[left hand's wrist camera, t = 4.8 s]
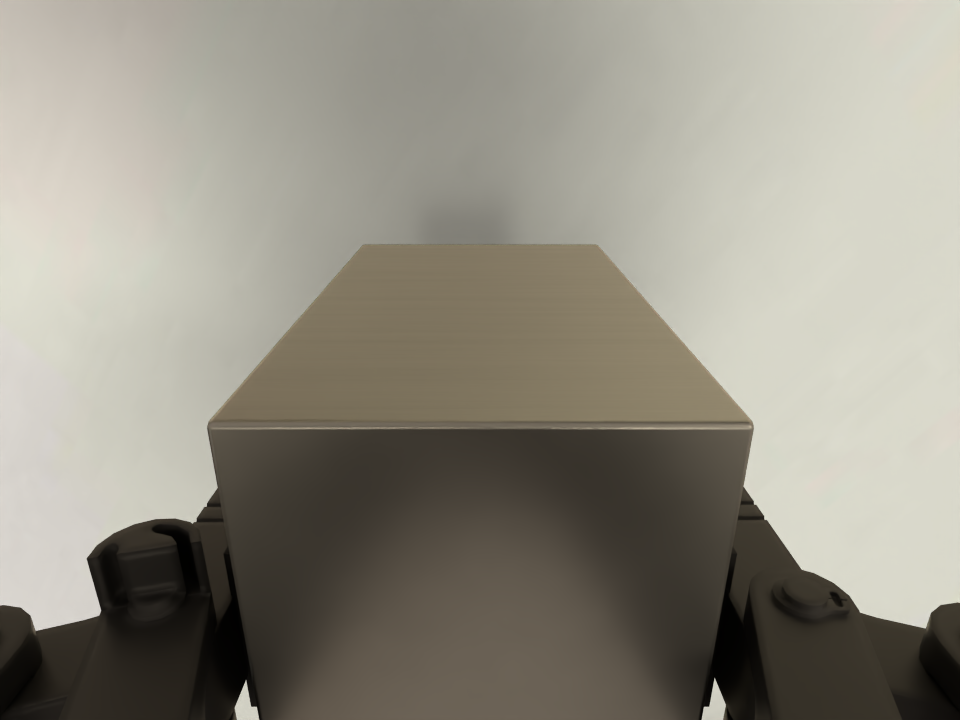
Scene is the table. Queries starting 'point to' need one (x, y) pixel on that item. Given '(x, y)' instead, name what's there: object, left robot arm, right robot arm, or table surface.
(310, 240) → the table surface
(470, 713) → the bar
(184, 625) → the left robot arm
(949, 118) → the table surface
